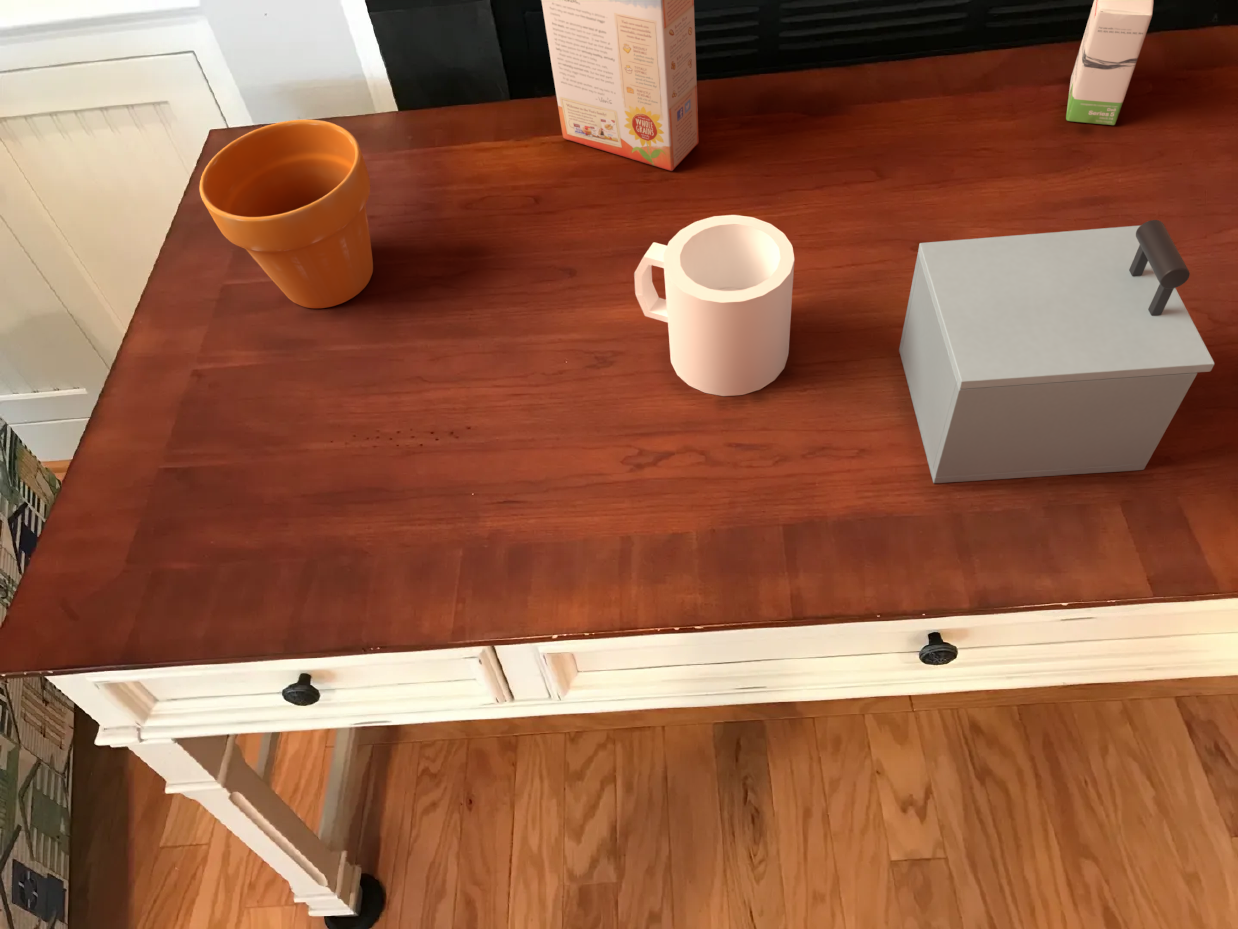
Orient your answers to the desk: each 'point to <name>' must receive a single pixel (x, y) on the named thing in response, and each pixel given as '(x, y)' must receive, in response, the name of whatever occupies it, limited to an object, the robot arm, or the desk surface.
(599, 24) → the cracker box
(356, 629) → the desk surface
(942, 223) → the desk surface
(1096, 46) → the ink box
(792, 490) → the desk surface
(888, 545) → the desk surface
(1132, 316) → the freezer lid
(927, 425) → the chest
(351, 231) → the flower pot
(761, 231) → the mug
